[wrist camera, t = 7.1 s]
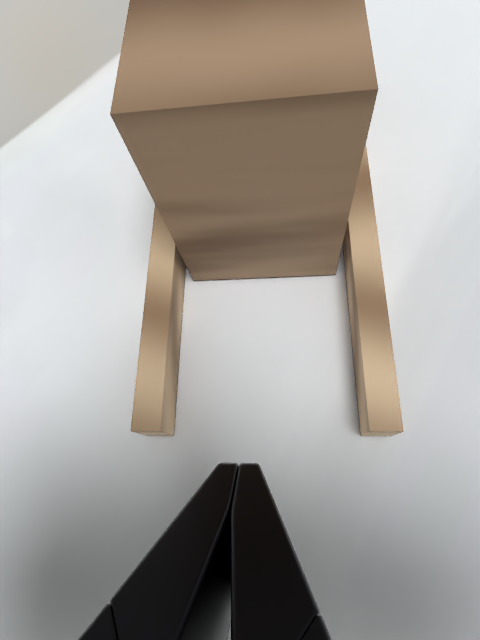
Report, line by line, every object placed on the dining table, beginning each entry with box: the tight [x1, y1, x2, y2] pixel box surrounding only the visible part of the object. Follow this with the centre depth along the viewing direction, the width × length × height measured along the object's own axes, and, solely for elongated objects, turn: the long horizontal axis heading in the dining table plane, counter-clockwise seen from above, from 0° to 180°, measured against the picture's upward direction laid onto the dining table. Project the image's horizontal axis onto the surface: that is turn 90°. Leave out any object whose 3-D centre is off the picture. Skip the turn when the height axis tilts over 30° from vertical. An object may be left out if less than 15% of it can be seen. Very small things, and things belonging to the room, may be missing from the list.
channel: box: [131, 144, 404, 436], centre depth 16 cm, size 23×10×11 cm, turn 179°
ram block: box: [110, 0, 378, 281], centre depth 16 cm, size 7×7×10 cm
